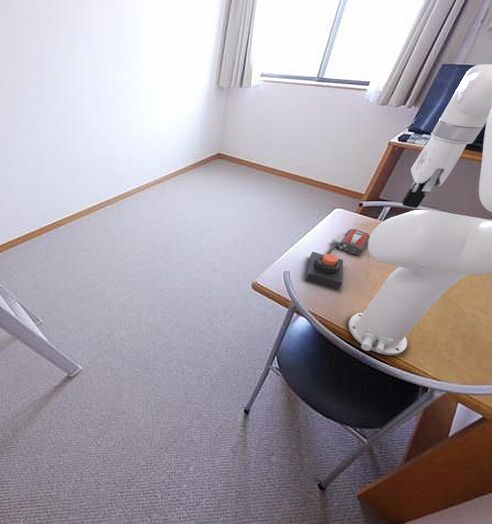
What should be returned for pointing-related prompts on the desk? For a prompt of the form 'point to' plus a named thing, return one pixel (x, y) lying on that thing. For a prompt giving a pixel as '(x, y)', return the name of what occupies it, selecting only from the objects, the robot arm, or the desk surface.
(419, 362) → the desk surface
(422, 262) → the robot arm
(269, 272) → the desk surface
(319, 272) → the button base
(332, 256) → the pump button
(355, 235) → the walkie-talkie
